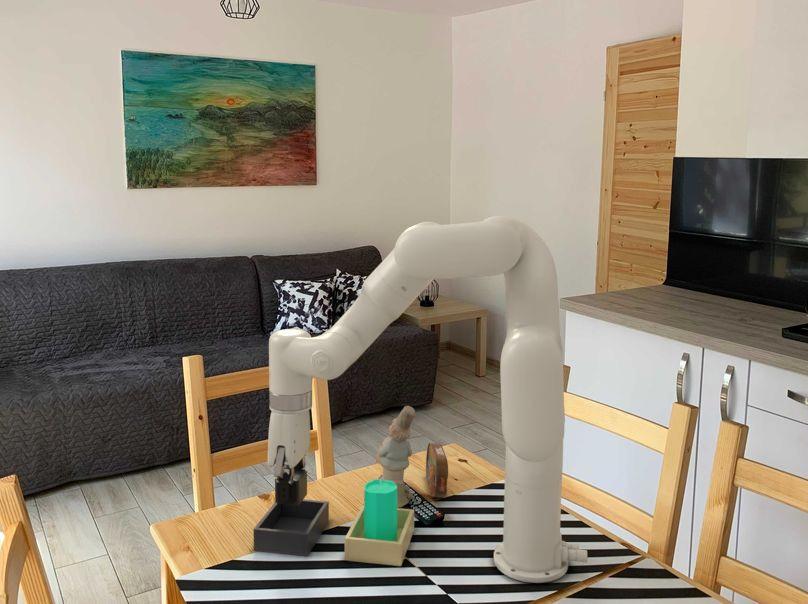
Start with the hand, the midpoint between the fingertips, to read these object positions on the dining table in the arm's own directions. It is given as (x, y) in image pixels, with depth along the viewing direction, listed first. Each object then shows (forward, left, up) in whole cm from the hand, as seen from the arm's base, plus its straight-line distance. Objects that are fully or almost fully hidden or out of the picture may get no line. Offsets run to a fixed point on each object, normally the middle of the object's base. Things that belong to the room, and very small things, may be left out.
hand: (291, 495), depth 129 cm
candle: (-17, 0, -7) cm, 18 cm away
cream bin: (-17, 0, -8) cm, 18 cm away
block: (0, 0, -1) cm, 1 cm away
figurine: (-15, -17, -8) cm, 24 cm away
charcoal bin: (0, 0, -8) cm, 8 cm away
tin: (-23, -24, -8) cm, 34 cm away
